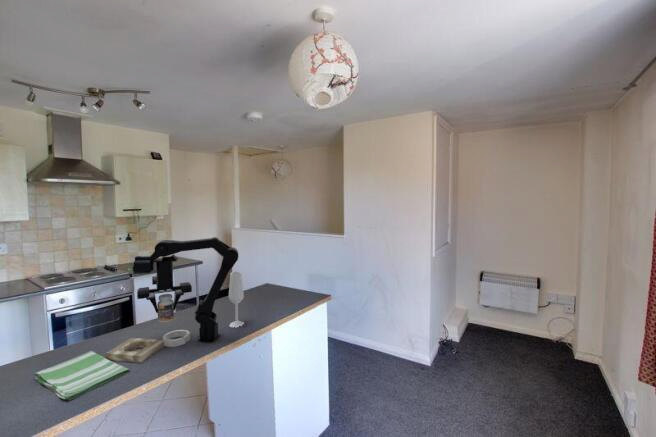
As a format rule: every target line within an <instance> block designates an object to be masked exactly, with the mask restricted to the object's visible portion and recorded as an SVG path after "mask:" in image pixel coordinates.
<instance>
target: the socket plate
mask: <svg viewBox="0 0 656 437" xmlns="http://www.w3.org/2000/svg"><path fill="white" fill-rule="evenodd" d="M164 347H165V346H164V340H163V339H151V338H150V339H149V338H140V337H139V338H138V337H131V338H129V339H128V340H125V341H124V342H122V343H120V344H118V345H117V346H115V347H114V348H112V349H110V350H108V351H107V352H105V358H106V359H107V360H110V361H117V362H128V363H139V364H142V363H143V362H145V361H146V360H148V359H149V358H151V356H153V355H154V354H156V353H157V352H158V351H160V350H162V349H163V348H164ZM140 348H142V349H140ZM136 349H137V350H136ZM133 350H134V351H133Z"/></svg>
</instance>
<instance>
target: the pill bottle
mask: <svg viewBox="0 0 656 437" xmlns="http://www.w3.org/2000/svg"><path fill="white" fill-rule="evenodd" d="M157 309H158V313H157V321H158V322H159V323H168V322H172V321H173V320H174V319H175V310H174V299H173V295H172V294H171V293H162V294H160V295H159V296H158V302H157Z"/></svg>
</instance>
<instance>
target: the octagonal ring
mask: <svg viewBox="0 0 656 437" xmlns="http://www.w3.org/2000/svg"><path fill="white" fill-rule="evenodd" d="M178 337H179V338H178ZM162 340H164V347H169V348H176V347H178V346H182V345H186V344H187V343H188V342H190V341H191V332H190V331H189V330H188V329H176V330H173V331H172V330H171V331H169V332H167V333H166V334H164V335H162Z"/></svg>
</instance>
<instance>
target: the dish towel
mask: <svg viewBox="0 0 656 437" xmlns="http://www.w3.org/2000/svg"><path fill="white" fill-rule="evenodd" d="M130 372H131V369H130V368H127V367H126V366H123V365H121V364H119V363H115V362H114V361H112V360H107V359H106V357H104V356H102V355H100V354H98V353H96V352H95V351H94V350H90V351H87V352H85V353H83V354H79V355H78V356H76V357H73V358H70V359H69V360H66V361H63V362H61V363H59V364H55V365H54V366H50V367H48V368H45V369H42V370H39V371H37V372H35V373H34V380H36V381H37V382H38V383H40V385H43V386H44V387H47V388H48V389H49V390H50V391H51V392H53V393H54V394H55V395H56V396H58V397H59V399H62V400H68V401H72V400H73V399H76V398H78V397H80V396H83V395H84V394H86V393H89V392H90V391H93V390H94V389H96V388H99V387H100V386H103V385H105V384H107V383H109V382H111V381H114V380H116V379H119V378H121V377H123V376H126V375H127V374H129V373H130Z"/></svg>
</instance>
